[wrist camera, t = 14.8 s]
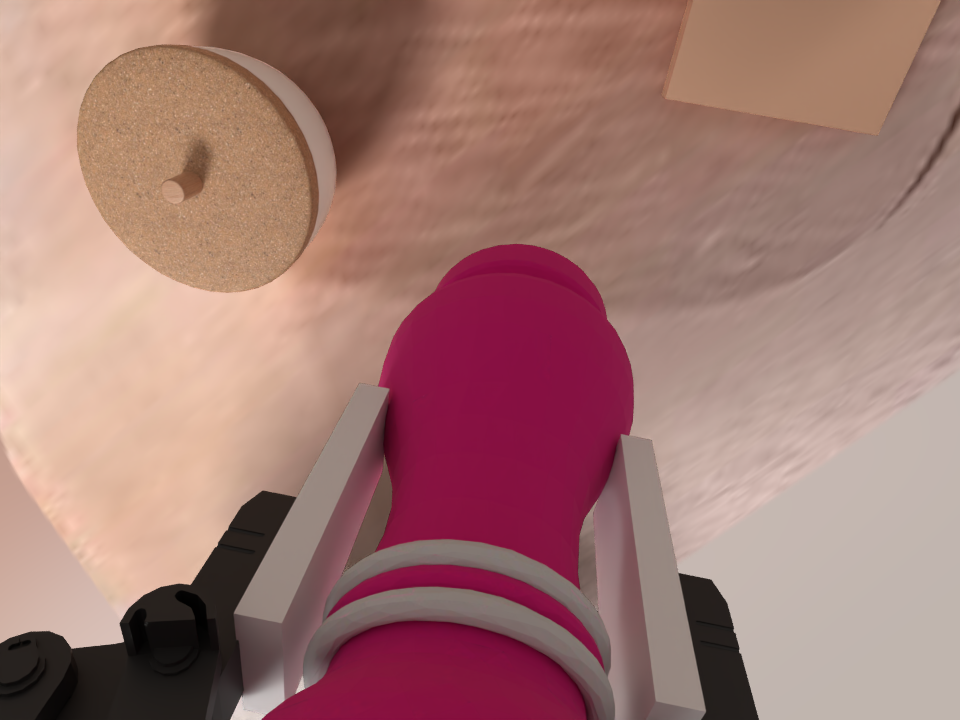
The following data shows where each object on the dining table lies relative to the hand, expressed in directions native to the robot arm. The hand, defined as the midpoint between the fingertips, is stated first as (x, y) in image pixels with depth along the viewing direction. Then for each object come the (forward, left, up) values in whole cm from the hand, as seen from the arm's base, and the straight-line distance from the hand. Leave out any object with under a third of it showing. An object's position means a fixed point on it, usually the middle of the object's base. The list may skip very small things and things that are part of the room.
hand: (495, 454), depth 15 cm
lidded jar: (+1, +15, -21) cm, 26 cm away
